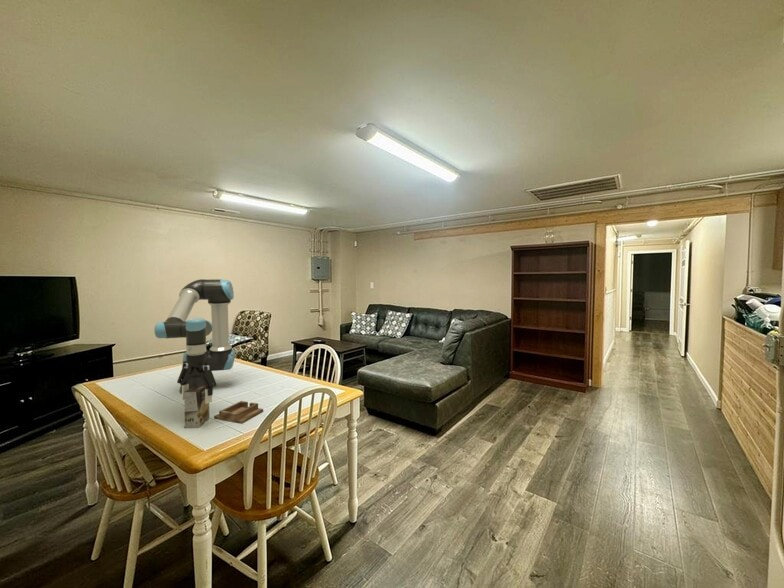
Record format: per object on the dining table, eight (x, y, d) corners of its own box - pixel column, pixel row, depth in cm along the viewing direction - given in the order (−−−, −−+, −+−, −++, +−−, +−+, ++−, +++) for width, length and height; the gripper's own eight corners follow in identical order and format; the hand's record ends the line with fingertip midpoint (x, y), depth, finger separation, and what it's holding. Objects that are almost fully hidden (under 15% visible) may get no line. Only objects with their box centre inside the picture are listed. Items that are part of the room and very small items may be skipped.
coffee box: (199, 428, 136) (199, 391, 136) (184, 428, 136) (183, 392, 135) (210, 418, 146) (209, 384, 145) (195, 419, 145) (195, 384, 144)
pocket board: (213, 418, 146) (213, 410, 145) (237, 407, 159) (237, 400, 159) (241, 423, 141) (241, 415, 141) (263, 411, 154) (263, 404, 154)
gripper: (167, 353, 140) (168, 400, 140) (210, 357, 132) (211, 407, 133) (183, 350, 147) (183, 394, 147) (225, 353, 139) (225, 401, 140)
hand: (196, 400), depth 140 cm, fingers open, 13 cm apart
